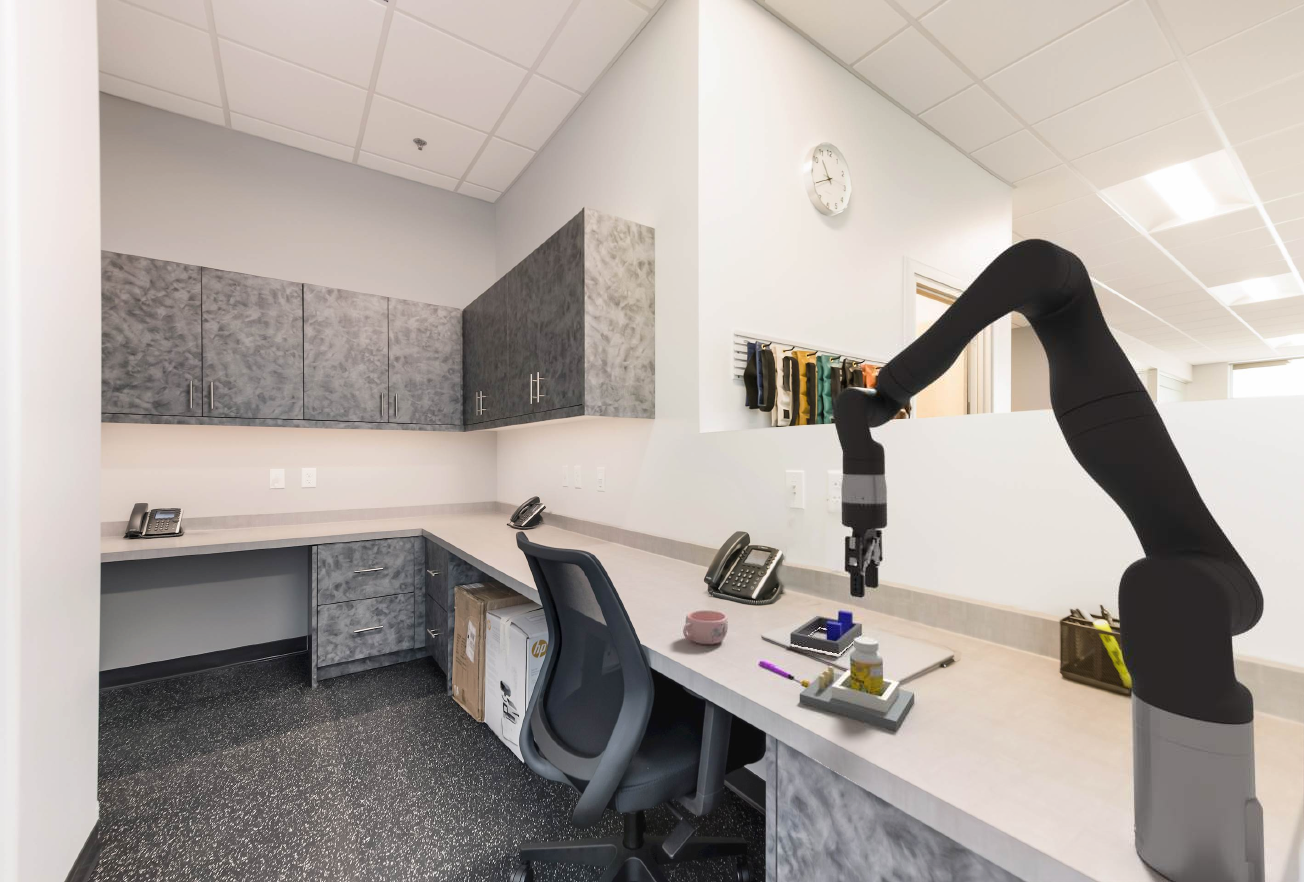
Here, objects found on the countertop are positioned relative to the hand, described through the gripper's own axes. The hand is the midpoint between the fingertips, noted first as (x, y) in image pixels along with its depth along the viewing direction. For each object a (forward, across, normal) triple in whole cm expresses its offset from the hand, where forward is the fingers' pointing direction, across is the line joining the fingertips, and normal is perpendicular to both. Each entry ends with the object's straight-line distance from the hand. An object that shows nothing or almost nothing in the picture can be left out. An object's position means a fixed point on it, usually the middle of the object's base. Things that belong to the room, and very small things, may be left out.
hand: (864, 591), depth 95 cm
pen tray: (+20, +28, +16) cm, 38 cm away
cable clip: (+20, +29, +15) cm, 38 cm away
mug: (+20, +10, +40) cm, 45 cm away
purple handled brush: (+20, +4, +15) cm, 26 cm away
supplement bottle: (+18, 0, 0) cm, 18 cm away
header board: (+20, 0, +2) cm, 20 cm away
